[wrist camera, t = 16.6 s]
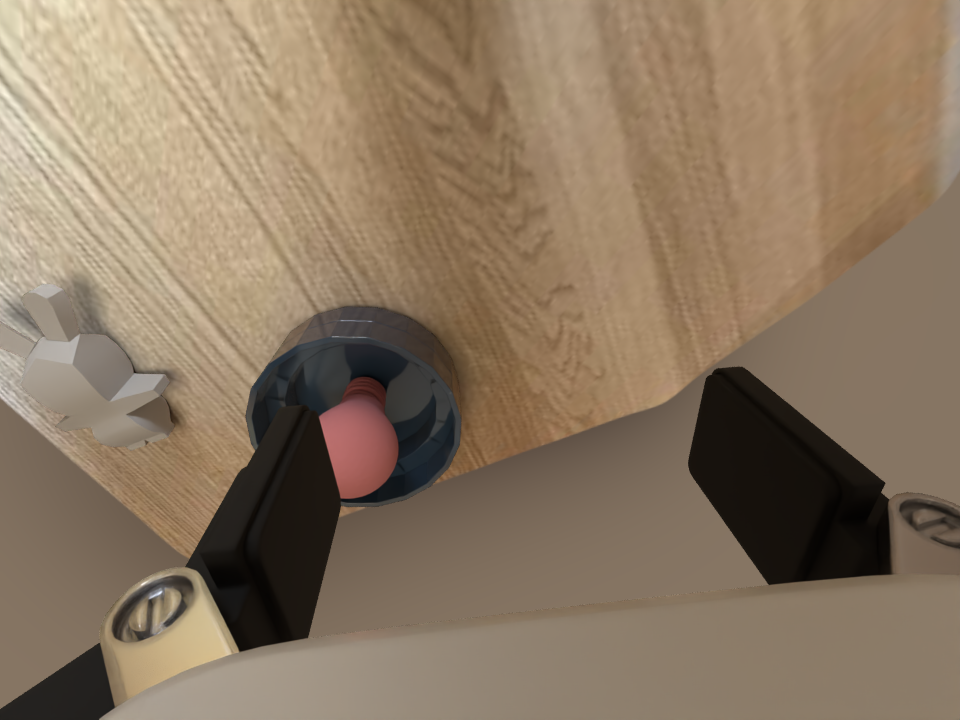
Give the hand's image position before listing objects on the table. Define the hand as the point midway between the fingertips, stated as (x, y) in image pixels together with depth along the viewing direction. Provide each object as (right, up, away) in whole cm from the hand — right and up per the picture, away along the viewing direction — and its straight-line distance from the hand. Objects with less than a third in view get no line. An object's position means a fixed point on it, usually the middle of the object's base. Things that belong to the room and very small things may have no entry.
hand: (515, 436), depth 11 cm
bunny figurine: (-33, +2, +29) cm, 44 cm away
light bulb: (-11, -1, +31) cm, 33 cm away
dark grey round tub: (-11, -1, +32) cm, 34 cm away
